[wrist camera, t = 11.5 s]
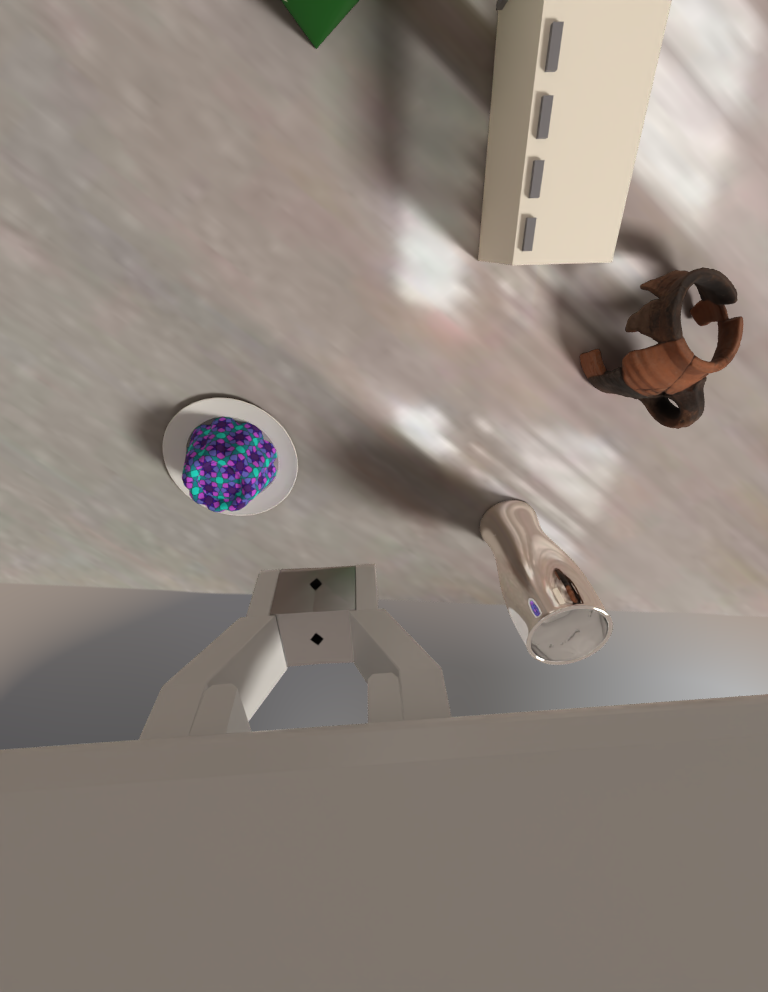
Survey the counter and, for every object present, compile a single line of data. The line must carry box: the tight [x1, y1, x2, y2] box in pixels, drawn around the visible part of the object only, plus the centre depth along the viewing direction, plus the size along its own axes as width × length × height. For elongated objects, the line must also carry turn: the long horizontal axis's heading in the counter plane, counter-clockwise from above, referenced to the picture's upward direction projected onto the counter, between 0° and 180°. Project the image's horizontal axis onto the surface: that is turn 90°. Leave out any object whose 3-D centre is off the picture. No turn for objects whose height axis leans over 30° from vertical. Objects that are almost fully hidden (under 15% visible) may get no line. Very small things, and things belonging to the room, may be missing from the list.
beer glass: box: [480, 500, 613, 665], centre depth 38 cm, size 7×7×15 cm
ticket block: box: [478, 0, 672, 265], centre depth 24 cm, size 6×13×8 cm, turn 1°
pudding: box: [162, 398, 298, 516], centre depth 36 cm, size 12×12×5 cm
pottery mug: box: [580, 268, 743, 429], centre depth 33 cm, size 12×10×8 cm
